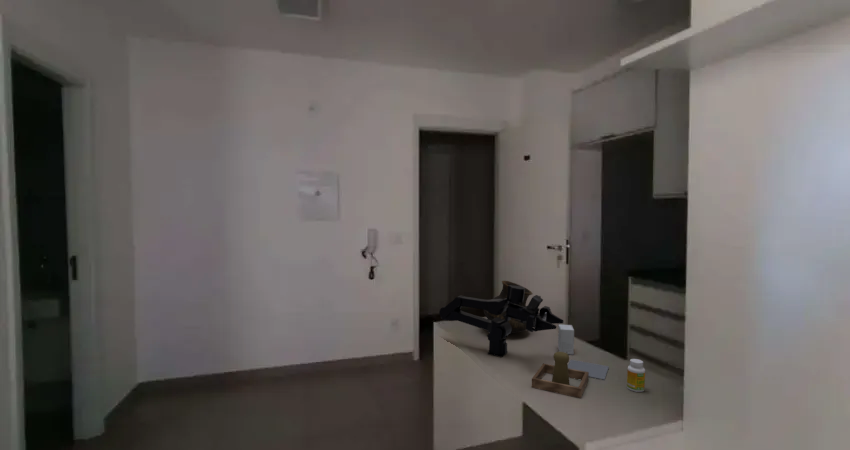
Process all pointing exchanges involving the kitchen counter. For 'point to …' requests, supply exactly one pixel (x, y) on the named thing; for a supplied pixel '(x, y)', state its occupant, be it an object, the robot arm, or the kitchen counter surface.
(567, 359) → the cork
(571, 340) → the small box
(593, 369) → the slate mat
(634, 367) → the supplement bottle
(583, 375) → the walnut frame
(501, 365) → the kitchen counter surface
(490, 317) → the ceramic pot
